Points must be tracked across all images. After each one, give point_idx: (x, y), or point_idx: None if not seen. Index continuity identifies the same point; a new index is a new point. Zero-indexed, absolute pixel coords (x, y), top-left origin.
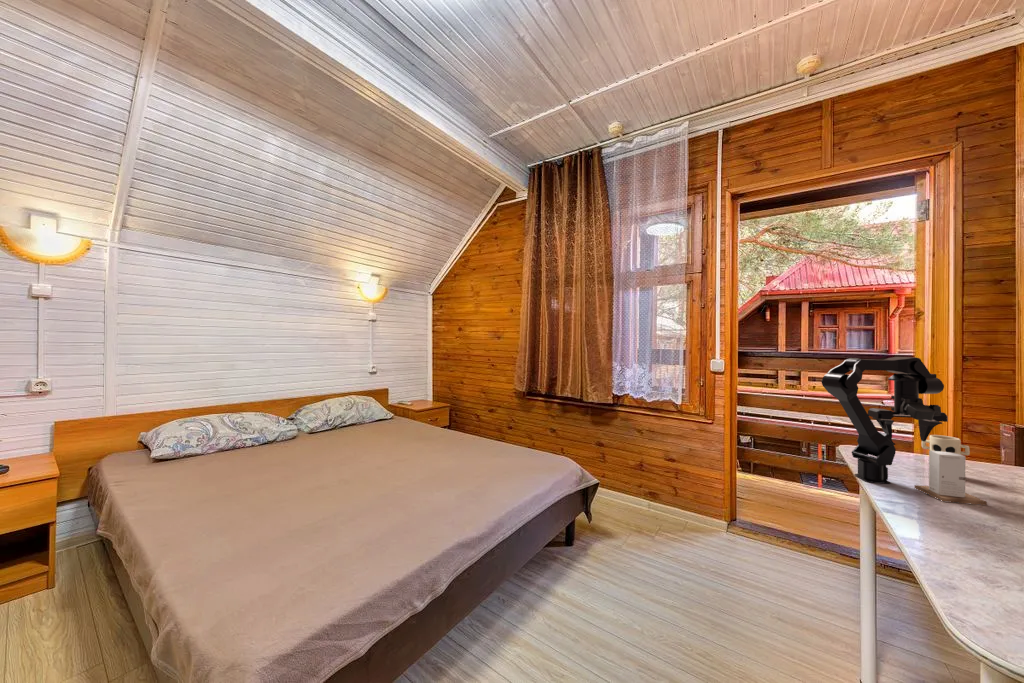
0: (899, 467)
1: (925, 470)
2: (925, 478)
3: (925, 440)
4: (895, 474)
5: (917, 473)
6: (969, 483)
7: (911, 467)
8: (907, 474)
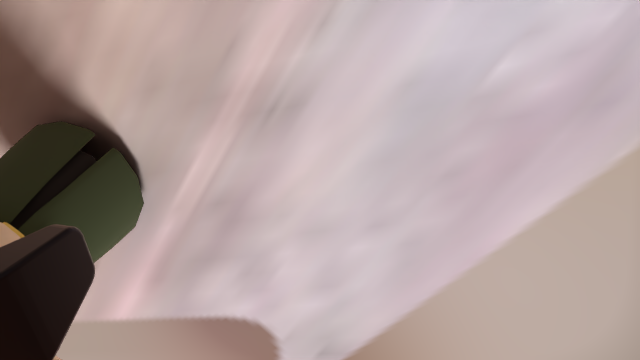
0: (294, 285)
1: (163, 242)
2: (263, 59)
3: (41, 230)
4: (453, 122)
5: (250, 175)
6: (16, 3)
7: (216, 289)
8: (344, 139)
